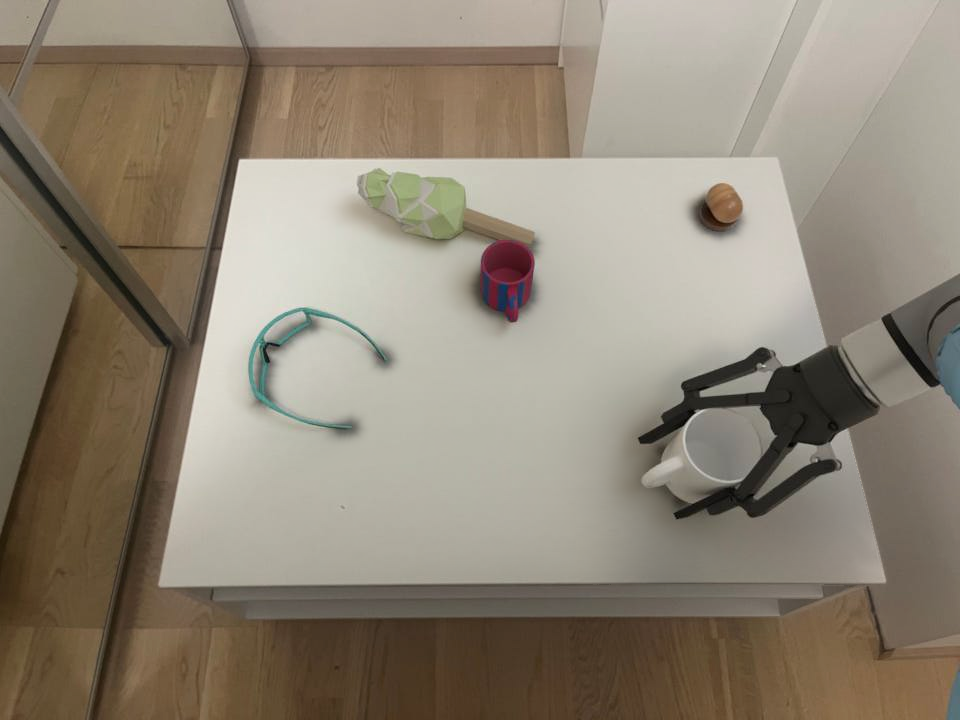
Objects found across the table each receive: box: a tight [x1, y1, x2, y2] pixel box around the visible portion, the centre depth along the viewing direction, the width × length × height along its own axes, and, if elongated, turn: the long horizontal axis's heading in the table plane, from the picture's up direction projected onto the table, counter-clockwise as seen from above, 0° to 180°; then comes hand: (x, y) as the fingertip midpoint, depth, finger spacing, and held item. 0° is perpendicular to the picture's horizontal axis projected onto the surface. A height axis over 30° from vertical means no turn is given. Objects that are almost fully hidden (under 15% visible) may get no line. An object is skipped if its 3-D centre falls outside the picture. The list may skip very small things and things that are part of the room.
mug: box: [641, 408, 764, 504], centre depth 74 cm, size 12×8×10 cm
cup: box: [480, 240, 536, 323], centre depth 85 cm, size 7×10×7 cm
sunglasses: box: [247, 307, 388, 430], centre depth 82 cm, size 14×15×5 cm
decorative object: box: [356, 167, 536, 249], centre depth 90 cm, size 9×10×25 cm
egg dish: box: [698, 182, 744, 232], centre depth 92 cm, size 6×5×5 cm
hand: (661, 477), depth 74 cm, fingers closed on mug, 8 cm apart
